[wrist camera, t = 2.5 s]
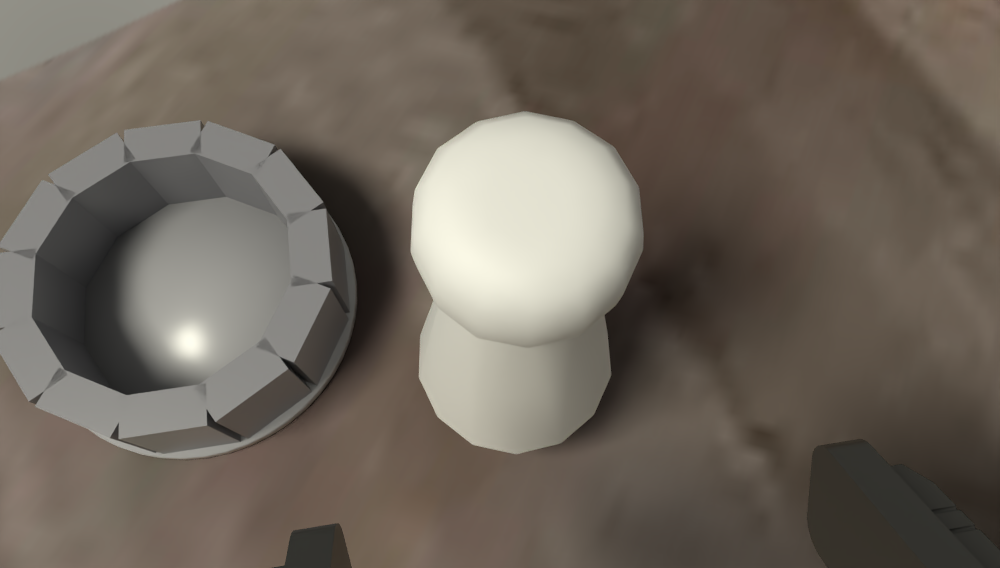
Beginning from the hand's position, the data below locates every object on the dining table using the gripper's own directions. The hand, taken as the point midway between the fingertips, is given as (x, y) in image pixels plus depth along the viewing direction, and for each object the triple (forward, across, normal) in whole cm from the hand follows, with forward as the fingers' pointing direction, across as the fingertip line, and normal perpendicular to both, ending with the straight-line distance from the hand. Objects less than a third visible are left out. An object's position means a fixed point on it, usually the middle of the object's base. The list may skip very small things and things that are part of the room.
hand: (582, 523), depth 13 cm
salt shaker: (+12, 0, +4) cm, 13 cm away
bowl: (+15, +10, +1) cm, 18 cm away
